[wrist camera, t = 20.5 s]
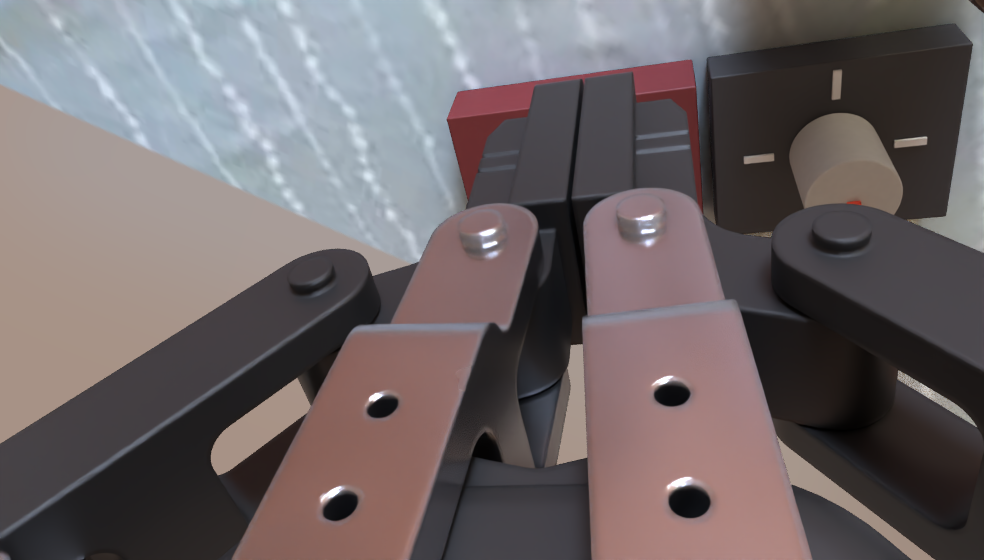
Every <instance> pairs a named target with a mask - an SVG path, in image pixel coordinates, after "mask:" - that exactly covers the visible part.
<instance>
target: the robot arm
mask: <svg viewBox="0 0 984 560" xmlns="http://www.w3.org/2000/svg"><path fill="white" fill-rule="evenodd" d="M577 344H583V356H584V357H583V358H584V382H585V407H586V431H587V456H588V458H584V459H580V460H576V461H572V462H567V463H563V464H559V465H556V464H557V459H558V453H559V448H560V443H561V437H562V432H563V427H564V421H565V416H566V411H567V405H568V400H569V395H570V380H569V375H568V370H567V367H568V363H569V358H570V347H571V345H577ZM898 370H900V371H901V372H903V373H905V374H907V375H908V376H910V377H912V378H913V379H915V380H917V381H918V382H920V383H922V384H923V385H925V386H927V387H929V388H930V389H932V390H934V391H935V392H937V393H939V394H940V395H942V396H944V397H945V398H947V399H949V400H951V401H952V402H954V403H955V404H957V405H958V406H959V407H960V408H962V409H963V410H964V411H965V412H966V413H967V414H968V415H969V416H970V417H971V419H972V420H973V421H974V423H975V424H976V426H977V427H978V428H977V427H975V426H974V425H972V424H970V423H969V422H967V421H965V420H964V419H962V418H960V417H959V416H957V415H955V414H954V413H952V412H950V411H949V410H947V409H945V408H944V407H942V406H940V405H939V404H937V403H935V402H934V401H932V400H930V399H929V398H927V397H926V396H924V395H922V394H921V393H919V392H917V391H916V390H914V389H912V388H911V387H909V386H907V385H906V384H904V383H902V382H901V381H899V380H897V376H898ZM296 378H298V380H299V382H300V384H301V386H302V388H303V390H304V392H305V394H306V396H307V399H308V401H309V403H310V405H311V407H310V409H309V411H308V413H307V414H305V415H304V416H303V417H301V418H300V419H298V420H297V421H296V422H294V423H293V424H292V425H290V426H289V427H288V428H286V429H285V430H284V431H283V432H281V433H280V434H278V435H277V436H276V437H274V438H273V439H272V440H270V441H269V442H268V443H266V444H265V445H264V446H262V447H261V448H260V449H258V450H257V451H256V452H254V453H253V454H252V455H250V456H249V457H248V458H246V459H245V460H243V461H242V462H241V463H239V464H238V465H237V466H235V467H234V468H233V469H231V470H230V471H228V472H226V473H224V474H222V475H217V474H216V472H215V471H214V469H213V467H212V464H211V450H212V448H213V445H214V443H215V441H216V439H217V438H218V437H219V435H220V434H221V433H222V432H223V431H224V430H225V429H226V428H227V427H229V426H230V425H231V424H233V423H234V422H236V421H237V420H238V419H240V418H241V417H243V416H244V415H245V414H247V413H248V412H250V411H251V410H252V409H254V408H255V407H257V406H258V405H259V404H261V403H262V402H263V401H265V400H266V399H268V398H269V397H271V396H272V395H273V394H275V393H276V392H277V391H279V390H280V389H282V388H283V387H284V386H286V385H287V384H288V383H290V382H292V381H293V380H294V379H296ZM777 436H778V437H779V438H780V440H781V441H782V442H783V443H784V444H785V445H787V446H788V447H789V448H790V449H791V450H793V451H794V452H795V453H797V454H798V455H799V456H801V457H802V458H803V459H805V460H806V461H807V462H808V463H810V464H811V465H812V466H814V467H815V468H816V469H818V470H819V471H820V472H822V473H823V474H824V475H825V476H827V477H828V478H829V479H831V480H832V481H833V482H834V483H836V484H837V485H838V486H840V487H841V488H842V489H844V490H845V491H846V492H848V493H849V494H850V495H851V496H853V497H854V498H855V499H857V500H858V501H859V502H860V503H862V504H863V505H865V506H866V507H867V508H868V509H870V510H871V511H872V512H874V513H875V514H876V515H877V516H879V517H880V518H881V519H883V520H884V521H885V522H887V523H888V524H889V525H890V526H892V527H893V528H894V529H896V530H897V531H898V532H900V533H901V534H902V535H903V536H905V537H906V538H907V539H909V540H910V541H911V542H913V543H914V544H915V545H917V546H918V547H919V548H920V549H922V550H923V551H924V552H926V553H927V554H928V555H930V556H931V557H932V558H934V559H935V560H984V253H982V252H980V251H977V250H975V249H972V248H970V247H968V246H965V245H963V244H961V243H958V242H956V241H954V240H951V239H949V238H947V237H944V236H942V235H940V234H937V233H935V232H933V231H930V230H928V229H925V228H923V227H921V226H918V225H916V224H914V223H911V222H909V221H907V220H904V219H902V218H900V217H897V216H895V215H893V214H890V213H888V212H885V211H882V210H880V209H877V208H873V207H869V206H864V205H857V204H844V203H838V204H824V205H817V206H813V207H808V208H805V209H802V210H799V211H797V212H795V213H793V214H791V215H789V216H787V217H786V218H784V219H783V220H782V221H781V222H780V223H779V224H778V225H777V226H776V228H775V229H774V231H773V234H772V237H771V238H768V237H759V236H751V235H744V234H739V233H735V232H731V231H729V230H726V229H723V228H721V227H719V226H717V225H715V224H713V223H712V222H711V221H709V220H708V219H707V218H706V217H705V216H704V215H703V214H702V212H701V209H700V207H699V205H698V201H697V193H696V184H695V176H694V168H693V160H692V152H691V143H690V135H689V127H688V119H687V112H686V111H685V110H683V109H682V108H681V107H680V106H679V105H677V104H676V103H675V102H674V101H673V100H672V99H663V100H655V101H647V102H639V103H637V101H636V92H635V83H634V75H633V71H631V72H624V73H616V74H609V75H602V76H594V77H587V78H585V81H584V83H583V80H582V79H573V80H566V81H559V82H551V83H544V84H537V85H535V86H534V90H533V94H532V98H531V103H530V107H529V112H528V116H527V117H523V118H515V119H507V120H504V121H503V122H502V123H501V124H500V125H499V126H498V127H497V128H496V129H495V130H494V131H493V132H492V133H491V134H490V135H489V136H488V137H487V140H486V143H485V147H484V150H483V153H482V158H481V160H480V163H479V167H478V173H476V177H475V180H474V183H473V187H472V190H471V193H470V197H469V200H468V203H467V206H466V210H464V211H461V212H459V213H457V214H455V215H453V216H451V217H450V218H448V219H446V220H445V221H444V222H443V223H441V224H440V225H439V226H438V227H437V228H436V229H435V231H434V232H433V234H432V235H431V237H430V240H429V242H428V244H427V246H426V248H425V250H424V252H423V254H422V257H421V259H420V261H419V262H417V263H414V264H411V265H409V266H405V267H402V268H399V269H396V270H392V271H388V272H385V273H381V274H378V275H375V276H372V274H371V271H370V268H369V266H368V263H367V260H366V259H365V258H364V257H363V256H362V255H361V254H359V253H357V252H355V251H352V250H347V249H329V250H322V251H317V252H313V253H310V254H307V255H305V256H302V257H300V258H297V259H295V260H293V261H292V262H290V263H288V264H286V265H285V266H283V267H281V268H280V269H278V270H277V271H275V272H273V273H272V274H270V275H269V276H267V277H265V278H264V279H262V280H261V281H259V282H258V283H256V284H254V285H253V286H251V287H250V288H248V289H246V290H245V291H243V292H241V293H240V294H238V295H237V296H235V297H234V298H232V299H231V300H229V301H227V302H226V303H224V304H223V305H221V306H219V307H218V308H216V309H214V310H213V311H211V312H210V313H208V314H207V315H205V316H203V317H202V318H200V319H199V320H197V321H195V322H194V323H192V324H190V325H189V326H187V327H186V328H184V329H183V330H181V331H179V332H178V333H176V334H175V335H173V336H171V337H170V338H168V339H167V340H165V341H164V342H162V343H160V344H159V345H157V346H156V347H154V348H152V349H151V350H149V351H147V352H146V353H144V354H143V355H141V356H140V357H138V358H136V359H135V360H133V361H132V362H130V363H128V364H127V365H125V366H124V367H122V368H120V369H119V370H117V371H116V372H114V373H112V374H111V375H110V376H108V377H106V378H104V379H103V380H101V381H100V382H98V383H96V384H95V385H94V386H92V387H90V388H88V389H87V390H85V391H84V392H82V393H81V394H79V395H77V396H76V397H74V398H73V399H71V400H69V401H68V402H66V403H65V404H63V405H62V406H60V407H58V408H57V409H55V410H53V411H52V412H50V413H49V414H47V415H46V416H44V417H42V418H41V419H39V420H38V421H36V422H34V423H33V424H31V425H30V426H28V427H26V428H25V429H23V430H22V431H20V432H18V433H17V434H15V435H14V436H12V437H10V438H9V439H7V440H6V441H4V442H2V443H1V444H0V560H911V559H910V558H909V557H907V556H906V555H905V554H904V553H902V552H901V551H900V550H899V549H898V548H897V547H896V546H894V545H893V544H892V543H891V542H890V541H888V540H887V539H886V538H885V537H884V536H882V535H881V534H880V533H879V532H877V531H876V530H875V529H873V528H872V527H871V526H870V525H868V524H867V523H865V522H864V521H862V520H861V519H859V518H858V517H856V516H855V515H853V514H852V513H850V512H849V511H847V510H846V509H844V508H842V507H840V506H838V505H836V504H835V503H833V502H831V501H828V500H827V499H825V498H823V497H821V496H819V495H817V494H814V493H812V492H809V491H807V490H804V489H802V488H799V487H797V486H794V485H791V484H790V480H789V477H788V473H787V470H786V467H785V463H784V459H783V456H782V453H781V449H780V446H779V442H778V439H777Z"/></svg>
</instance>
